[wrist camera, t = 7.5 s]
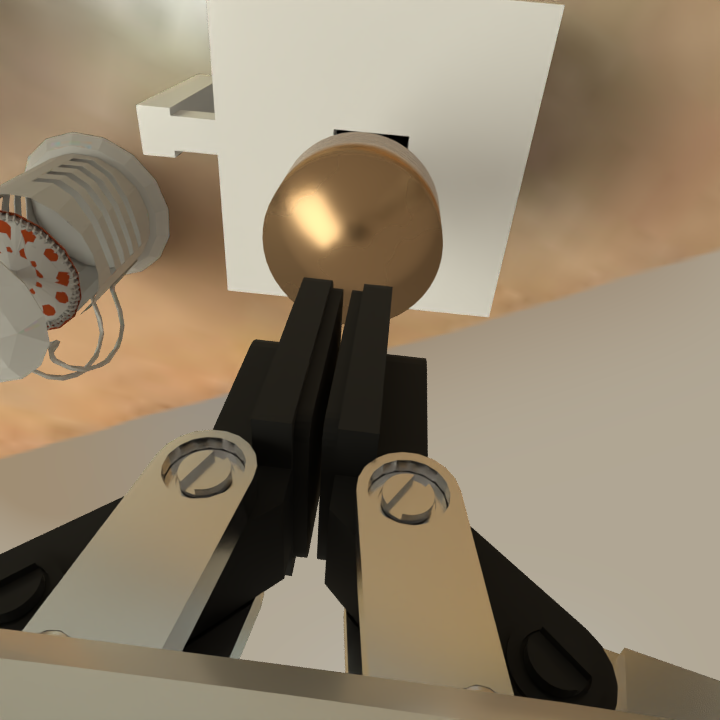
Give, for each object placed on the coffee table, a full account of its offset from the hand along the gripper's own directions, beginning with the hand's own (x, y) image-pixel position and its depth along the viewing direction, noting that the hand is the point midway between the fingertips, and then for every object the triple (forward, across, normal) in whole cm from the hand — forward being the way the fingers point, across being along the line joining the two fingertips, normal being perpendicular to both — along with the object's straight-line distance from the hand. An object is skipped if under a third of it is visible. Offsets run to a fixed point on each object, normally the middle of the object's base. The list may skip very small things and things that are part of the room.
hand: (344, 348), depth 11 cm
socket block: (+26, +3, +1) cm, 26 cm away
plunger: (+23, +1, +1) cm, 23 cm away
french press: (+26, +19, +10) cm, 33 cm away
